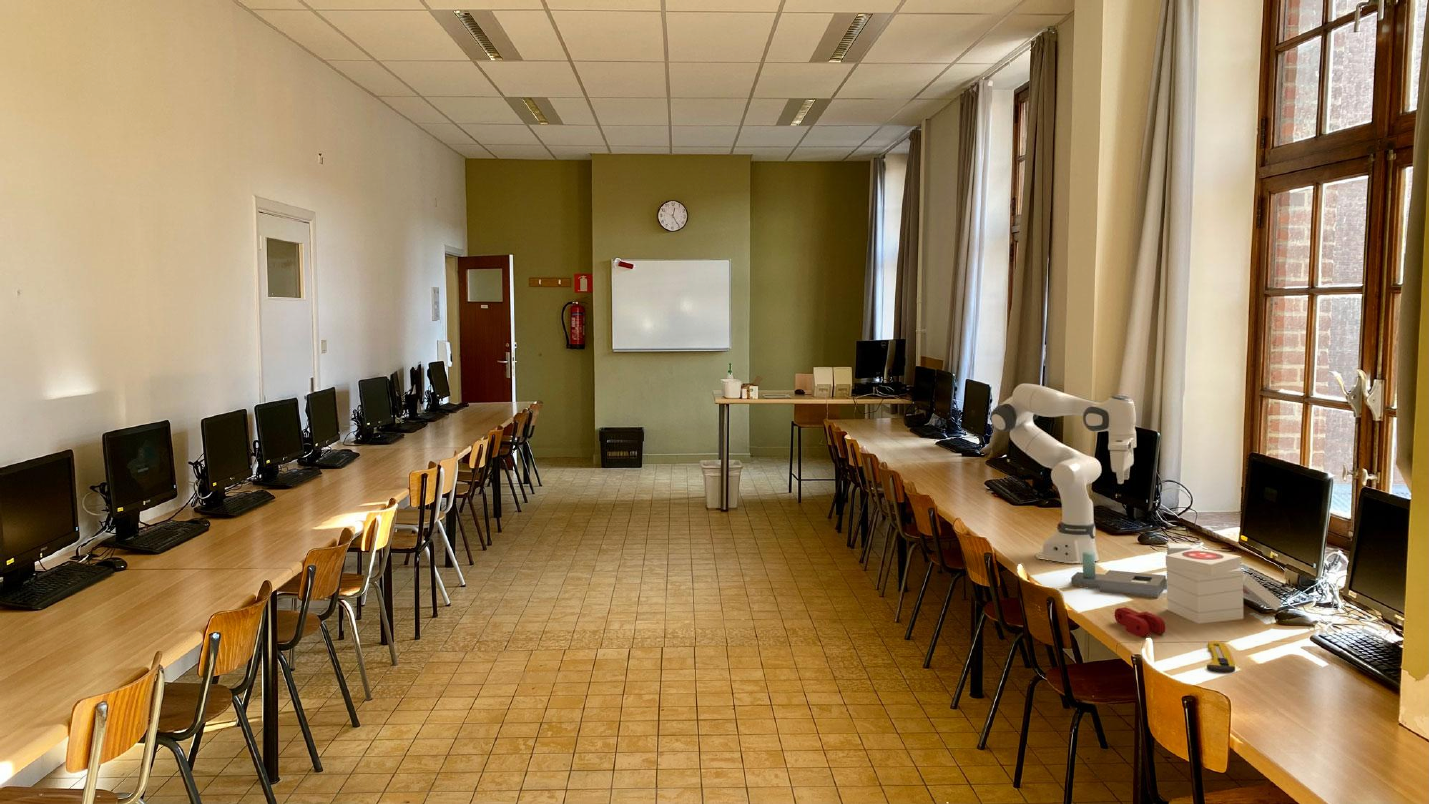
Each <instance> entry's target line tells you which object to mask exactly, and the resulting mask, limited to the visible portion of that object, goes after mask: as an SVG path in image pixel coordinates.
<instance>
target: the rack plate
mask: <svg viewBox="0 0 1429 804" xmlns="http://www.w3.org/2000/svg"><path fill="white" fill-rule="evenodd" d="M1095 575H1096V577H1094V578H1086V577H1083V571H1082V572H1080V571H1077V572H1076V573H1075V574H1074V575H1072V576H1071V578H1070V582H1071V587H1075V586H1082V587H1081V588H1084V587H1088V588H1087V589H1094V588H1096V590H1099V592H1101V593H1108V594H1109V593H1110V594H1118V595H1129V596H1138V597H1144V598H1145V597H1146V598H1154V599H1155V598H1156V599H1158V598H1159V597H1160V596H1161V595H1162V593H1164V590H1165V589H1167V574H1166V575H1165V574H1164V575H1163V574H1156V573H1155V574H1154V573H1145V572H1133V571H1122V570H1113V569H1112V570H1111V569H1110V570H1108V571H1107V572H1105V574H1100V573H1095ZM1097 588H1098V589H1097Z"/></svg>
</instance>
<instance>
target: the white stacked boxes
mask: <svg viewBox="0 0 1429 804" xmlns="http://www.w3.org/2000/svg"><path fill="white" fill-rule="evenodd" d="M1165 566H1166V609H1167V611H1169V612H1172V613H1173V614H1176V615H1178V616H1181V617H1183V618H1185V619H1188V620H1190V621H1191V622H1194V623H1196V624H1199V625H1200V624H1208V623H1217V622H1225V621H1235V620H1243V619H1244V599H1245V600H1249V601H1252V602H1254V603H1256V604H1259V605H1262V606H1264V607H1267V608H1269V609H1272V610H1273V611H1278V609H1279V608H1280V607H1281V606H1282V603H1283V601H1282V600H1281V599H1279V598H1278V596H1276V595H1274V594H1273V593H1272V592H1271V591H1270V590H1268V588H1265V586H1263V585H1262V584H1261V583H1260V582H1258V581H1257V580H1255V579H1254V578H1253V576H1250V574H1247V573H1245V572H1244V570H1243V569H1241V568H1242V556H1241V555H1235V554H1232V553H1231V554H1230V553H1225V552H1220V551H1215V550H1214V551H1213V550H1209V549H1204V548H1198V547H1194V548H1193V549H1190V550H1186V551H1182V552H1178V553H1174V554H1170V555H1167V554H1166V555H1165Z"/></svg>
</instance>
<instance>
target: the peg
mask: <svg viewBox="0 0 1429 804" xmlns="http://www.w3.org/2000/svg"><path fill="white" fill-rule="evenodd" d="M1082 554H1083V563H1082V573H1083V577H1086V578H1094V577H1096V575H1095V574H1096V562H1095V553H1092V552H1084V553H1082Z"/></svg>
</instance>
